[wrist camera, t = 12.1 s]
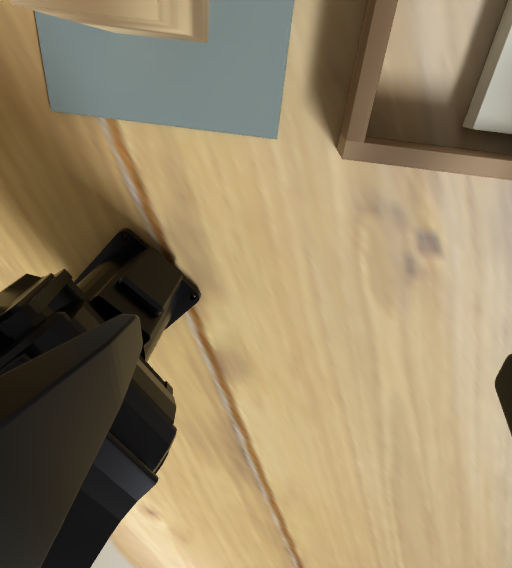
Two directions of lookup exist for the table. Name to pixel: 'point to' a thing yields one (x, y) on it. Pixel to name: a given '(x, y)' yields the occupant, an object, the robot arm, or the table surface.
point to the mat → (175, 70)
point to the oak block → (133, 16)
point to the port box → (481, 116)
